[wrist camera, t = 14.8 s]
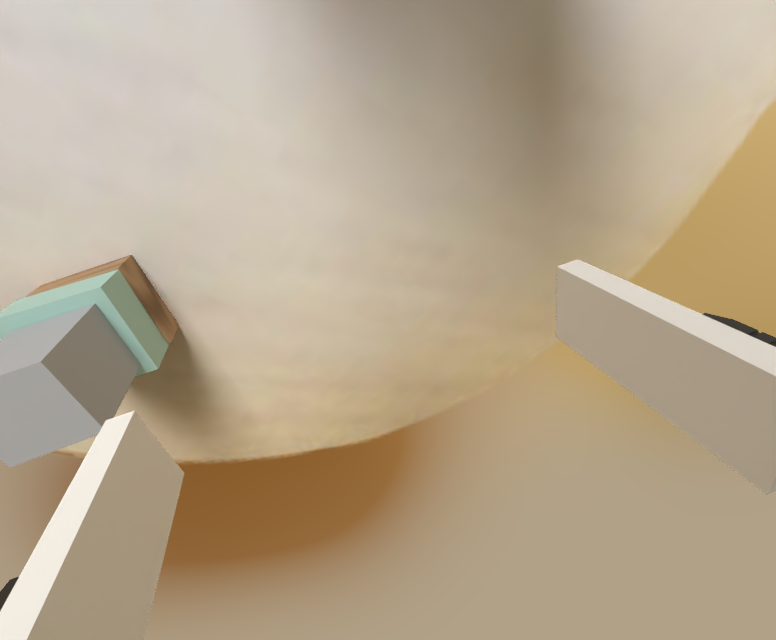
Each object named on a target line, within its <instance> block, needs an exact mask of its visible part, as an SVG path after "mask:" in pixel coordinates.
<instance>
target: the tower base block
mask: <svg viewBox="0 0 776 640" xmlns="http://www.w3.org/2000/svg"><path fill="white" fill-rule="evenodd" d="M118 269H119V270H120V272H121V273H122V275H123V276H124V278H125V279H126V281H127V282H128V284H129V285H130V287H131V288H132V290H133V291H134V293H135V294H136V296H137V298H138V299H139V301H140V302H141V304H142V305H143V307H144V308H145V310H146V311H147V313H148V314H149V316H150V317H151V319H152V320H153V322H154V323H155V325H156V327H157V328H158V330H159V331H160V333H161V334H162V336H163V337H164V339H165V340H166V342H167V343H168V344H171V343H172V341H173V338H174V336H175V334H176V332H177V330H178V327H179V324H178V323H177V321H176V320H175V318H174V317H173V316H172V314H171V313H170V311H169V310H168V308H167V307H166V305H165V304H164V302H163V301H162V299H161V298H160V296H159V295H158V293H157V292H156V290H155V289H154V287H153V286H152V284H151V283H150V281H149V280H148V278H147V277H146V275H145V274H144V272H143V271H142V269H141V268H140V266H139V265H138V263H137V262H136V260H135V259H134V257H133V256H132V255H130V256H127V257H124V258H121V259H118V260H115V261H112V262H109V263H106V264H103V265H100V266H97V267H94V268H91V269H88V270H85V271H82V272H79V273H76V274H73V275H70V276H67V277H64V278H61V279H58V280H56V281H53V282H50V283H47V284H44V285H41V286H40V287H39V288H37V289H36V290H34V291H33V292H32V293H30V294H29V295H27V296H26V297H28V296H32V295H35V294H38V293H42V292H45V291H48V290H52V289H55V288H58V287H61V286H65V285H68V284H71V283H75V282H78V281H81V280H85V279H88V278H91V277H95V276H98V275H101V274H105V273H108V272H111V271H114V270H118Z"/></svg>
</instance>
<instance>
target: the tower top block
mask: <svg viewBox="0 0 776 640" xmlns="http://www.w3.org/2000/svg"><path fill="white" fill-rule="evenodd" d="M92 304H96V305H97V307H98V308H99V309H100V311H101V312H102V313H103V315H104V316H105V317H106V319H107V320H108V321H109V323H110V324H111V325H112V326H113V328H114V329H115V330H116V332H117V333H118V334H119V336H120V337H121V338H122V340H123V341H124V342H125V344H126V345H127V346H128V348H129V349H130V350H131V351H132V353H133V354H134V355H135V357H136V358H137V359H138V361H139V362H140V363H141V365H140V367H139V369H138V371H137V373H136V375H135V377H137V376H140V375H143V374H145V373H148V372H151V371H154V370H157V369H158V368H159V366H160V364H161V362H162V360H163V357H164V355H165V353H166V351H167V349H168V346H169V345H168V343H167V342H166V340H165V339H164V337H163V336H162V334H161V333H160V331H159V330H158V328H157V327H156V325H155V323H154V322H153V320H152V319H151V317H150V316H149V314H148V313H147V311H146V310H145V308H144V307H143V305H142V304H141V302H140V301H139V299H138V298H137V296H136V294H135V293H134V291H133V290H132V288H131V287H130V285H129V284H128V282H127V281H126V279H125V278H124V276H123V275H122V273H121V272H120V270H119V269H118V270H114V271H111V272H108V273H105V274H101V275H98V276H95V277H91V278H88V279H85V280H81V281H78V282H75V283H71V284H68V285H65V286H61V287H58V288H55V289H52V290H48V291H45V292H42V293H38V294H35V295H32V296H28V297H25V298H22V299H18V300H16V301H15V302H13V303H12V304H11V305H9V306H8V307H6V308H5V309H3V310H2V311H1V312H0V339H2V338H3V337H5V336H6V335H7V334H8V333H10V332H11V331H13V330H16V329H19V328H22V327H25V326H28V325H31V324H34V323H37V322H40V321H43V320H47V319H50V318H53V317H56V316H59V315H62V314H65V313H68V312H71V311H74V310H77V309H80V308H83V307H86V306H89V305H92Z"/></svg>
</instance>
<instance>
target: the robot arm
mask: <svg viewBox="0 0 776 640" xmlns="http://www.w3.org/2000/svg"><path fill="white" fill-rule="evenodd" d="M556 337H557V338H558V339H560V340H561V341H562V342H564V343H565V344H566V345H568V346H569V347H571V348H572V349H573V350H574V351H576V352H577V353H579V354H580V355H581V356H582V357H584V358H585V359H586V360H588V361H589V362H590V363H592V364H593V365H594V366H596V367H597V368H598V369H600V370H601V371H602V372H604V373H605V374H606V375H608V376H609V377H610V378H612V379H613V380H614V381H616V382H617V383H618V384H620V385H621V386H622V387H624V388H625V389H626V390H628V391H629V392H630V393H632V394H633V395H634V396H636V397H637V398H638V399H640V400H641V401H642V402H644V403H645V404H647V405H648V406H649V407H651V408H652V409H653V410H654V411H656V412H657V413H658V414H660V415H661V416H662V417H664V418H665V419H666V420H668V421H669V422H670V423H672V424H673V425H674V426H676V427H677V428H678V429H680V430H681V431H682V432H684V433H685V434H686V435H688V436H689V437H690V438H692V439H693V440H694V441H696V442H697V443H698V444H700V445H701V446H702V447H704V448H705V449H706V450H708V451H709V452H710V453H712V454H713V455H714V456H716V457H717V458H718V459H720V460H721V461H722V462H724V463H725V464H726V465H728V466H729V467H730V468H732V469H733V470H734V471H736V472H737V473H738V474H740V475H741V476H742V477H744V478H745V479H746V480H748V481H749V482H750V483H752V484H753V485H754V486H756V487H757V488H758V489H760V490H761V491H762V492H764V493H765V494H766V495H768V494H770V493H772V492H774V491H776V338H775V337H773V336H770V335H768V334H766V333H763V332H762V333H759V332H758V330H756V329H754V328H752V327H749V326H747V325H745V324H742V323H740V322H738V321H735V320H733V319H728V318H724V317H719V316H715V315H711V314H707V313H704V314H700V313H698V312H695V311H693V310H691V309H689V308H686V307H684V306H682V305H680V304H678V303H675V302H673V301H671V300H669V299H666V298H664V297H662V296H660V295H657V294H655V293H653V292H650V291H648V290H646V289H644V288H641V287H639V286H637V285H635V284H633V283H630V282H628V281H626V280H624V279H621V278H619V277H617V276H615V275H612V274H610V273H608V272H606V271H603V270H601V269H599V268H597V267H594V266H592V265H590V264H588V263H585V262H583V261H581V260H579V259H577V260H574V261H571V262H568V263H565V264H562V265H559V266H557V290H556ZM183 476H184V472H183V471H182V470H181V469H180V467H179V466H178V465H177V463H176V462H175V461H174V460H173V458H172V457H171V456H170V455H169V453H168V452H167V451H166V450H165V448H164V447H163V446H162V444H161V443H160V442H159V441H158V439H157V438H156V437H155V436H154V434H153V433H152V432H151V431H150V429H149V428H148V427H147V425H146V424H145V423H144V422H143V420H142V419H141V418H140V417H139V415H138V414H137V413H136V412H135V411H132V412H129V413H126V414H123V415H120V416H117V417H114V418H111V419H108V420H106V421H105V423H104V424H103V426H102V428H101V430H100V432H99V434H98V435H97V437H96V439H95V441H94V443H93V444H92V446H91V448H90V450H89V452H88V453H87V455H86V457H85V459H84V461H83V462H82V464H81V466H80V468H79V470H78V472H77V473H76V475H75V477H74V479H73V481H72V482H71V484H70V486H69V488H68V490H67V491H66V493H65V495H64V497H63V499H62V500H61V502H60V504H59V506H58V508H57V510H56V511H55V513H54V515H53V517H52V519H51V521H50V522H49V524H48V526H47V528H46V530H45V531H44V533H43V535H42V537H41V539H40V540H39V542H38V544H37V546H36V548H35V549H34V551H33V553H32V555H31V557H30V558H29V560H28V562H27V564H26V566H25V568H24V569H23V571H22V573H21V575H20V576H19V577H16V578H14V579H11V580H10V581H9V582H8V583H7V584H6V586H5V587H4V588H3V589H2V590H1V591H0V640H143V639H144V635H145V631H146V627H147V623H148V619H149V615H150V611H151V607H152V603H153V599H154V594H155V590H156V586H157V582H158V578H159V574H160V570H161V566H162V562H163V558H164V554H165V550H166V546H167V542H168V538H169V534H170V529H171V525H172V521H173V517H174V513H175V509H176V505H177V501H178V497H179V493H180V488H181V484H182V481H183Z"/></svg>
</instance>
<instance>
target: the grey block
mask: <svg viewBox="0 0 776 640" xmlns="http://www.w3.org/2000/svg"><path fill="white" fill-rule="evenodd" d="M140 365H141V363H140V362H139V361H138V359H137V358H136V357H135V355H134V354H133V353H132V351H131V350H130V349H129V348H128V346H127V345H126V344H125V342H124V341H123V340H122V338H121V337H120V336H119V334H118V333H117V332H116V330H115V329H114V328H113V326H112V325H111V324H110V323H109V321H108V320H107V319H106V317H105V316H104V315H103V313H102V312H101V311H100V309H99V308H98V307H97V305H96V304H92V305H89V306H86V307H83V308H80V309H77V310H74V311H71V312H68V313H65V314H62V315H59V316H56V317H53V318H50V319H47V320H43V321H40V322H37V323H34V324H31V325H28V326H25V327H22V328H19V329H16V330H13V331H11V332H10V333H8V334H7V335H6V336H5V337H3V338H2V339H1V340H0V460H1V461H2V462H4V463H5V464H6V465H7V466H9V467H12V466H15V465H18V464H21V463H23V462H26V461H29V460H31V459H34V458H37V457H40V456H42V455H45V454H48V453H50V452H53V451H56V450H58V449H61V448H64V447H66V446H69V445H72V444H75V443H77V442H80V441H83V440H85V439H88V438H91V437H93V436H96V435H98V434H99V432H100V430H101V428H102V426H103V424H104V423H105V421H106V420H108V419H111V418H114V416H115V414H116V412H117V410H118V408H119V406H120V404H121V402H122V400H123V398H124V396H125V394H126V393H127V391H128V389H129V387H130V385H131V383H132V381H133V379H134V377H135V375H136V373H137V371H138V369H139V367H140Z"/></svg>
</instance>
